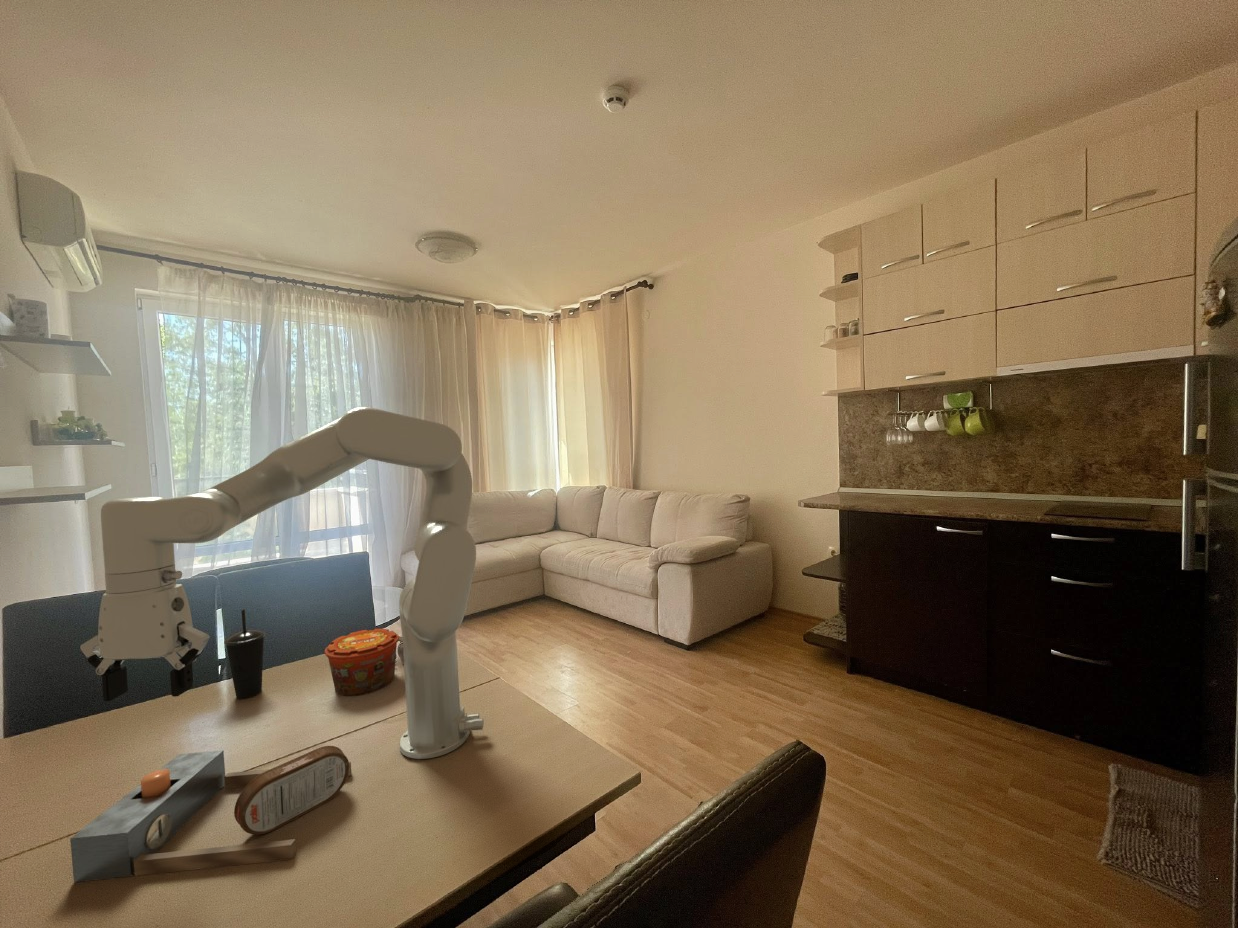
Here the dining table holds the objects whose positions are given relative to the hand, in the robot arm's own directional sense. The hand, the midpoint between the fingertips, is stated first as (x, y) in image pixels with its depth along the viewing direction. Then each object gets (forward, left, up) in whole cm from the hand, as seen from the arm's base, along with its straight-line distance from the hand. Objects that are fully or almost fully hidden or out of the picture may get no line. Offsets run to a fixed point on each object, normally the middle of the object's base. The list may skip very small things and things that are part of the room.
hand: (149, 694), depth 74 cm
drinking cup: (+14, -43, -21) cm, 50 cm away
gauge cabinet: (0, 0, -20) cm, 20 cm away
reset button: (0, 0, -16) cm, 16 cm away
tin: (-20, 0, -21) cm, 29 cm away
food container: (-12, -44, -21) cm, 50 cm away
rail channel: (-14, 0, -20) cm, 25 cm away
